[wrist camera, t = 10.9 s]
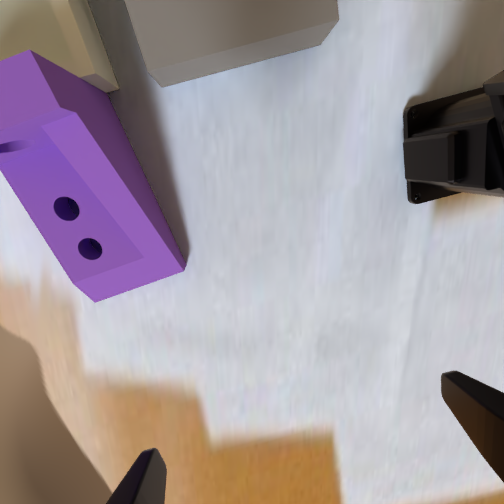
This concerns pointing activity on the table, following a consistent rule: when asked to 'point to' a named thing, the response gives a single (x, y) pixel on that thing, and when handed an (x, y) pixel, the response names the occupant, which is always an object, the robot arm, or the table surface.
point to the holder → (224, 33)
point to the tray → (57, 37)
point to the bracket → (81, 179)
